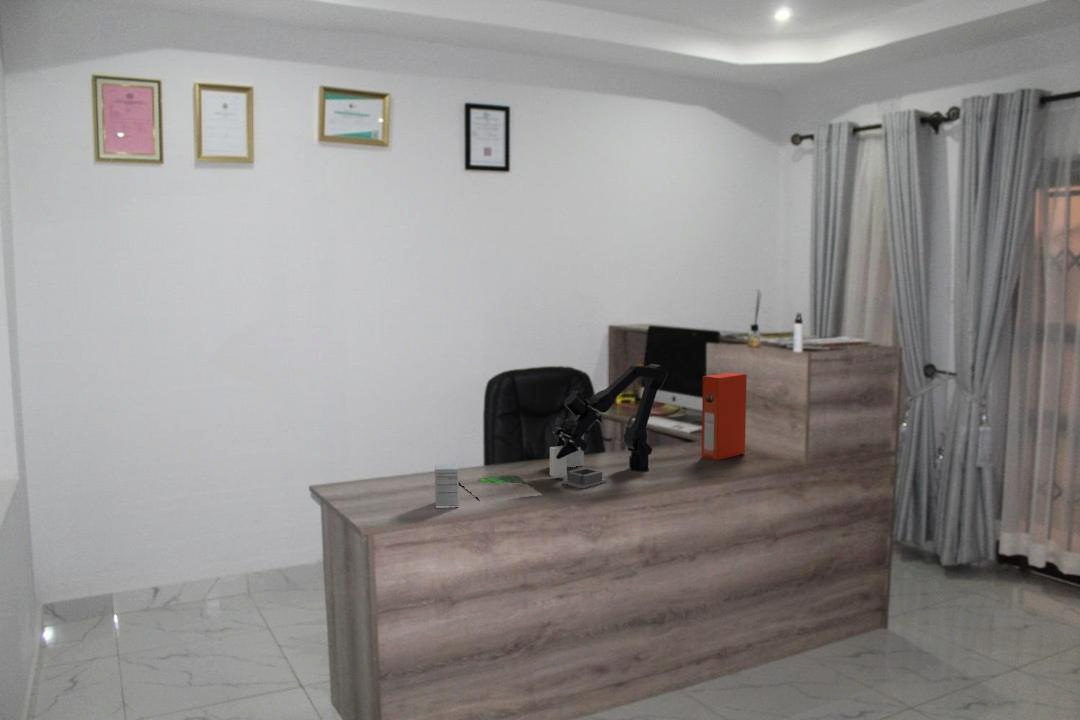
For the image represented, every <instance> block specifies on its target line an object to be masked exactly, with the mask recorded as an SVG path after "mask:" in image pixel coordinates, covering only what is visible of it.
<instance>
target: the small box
mask: <svg viewBox="0 0 1080 720" xmlns="http://www.w3.org/2000/svg"><path fill="white" fill-rule="evenodd" d="M584 436H585V435H584ZM584 436H583V437H582V439H583V440H584V441H585V439H584ZM580 449H581V448H580V447H579V448H578V450H579V451H576V452H573V453H571V454H569V455H567V468H570V467H571V468H572V467H573V468H577V467H576V466H578V467H581V465H582V466H584V465H585V463H584V461H585V460H584V458H585V454H584V453H585V452H584V451H582V450H580ZM571 468H570V469H571Z"/></svg>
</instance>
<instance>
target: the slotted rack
mask: <svg viewBox="0 0 1080 720" xmlns="http://www.w3.org/2000/svg"><path fill="white" fill-rule="evenodd" d="M605 482H606V483H607V479H606V478H605V479H604V478H603V471H601V470H600V469H595V468H590V467H581V468H578V469H573V470H570V471H569V470H567V479H565V480H563V482H562V483H564V484H563V485H566V484H568V485H567V486H570V485H572V486H571V487H574V486H575V487H574V488H577V487H579V488H578V489H581V488H583V489H586V487H587V488H590V487H589V486H591V487H594V486H593V485H595V486H598V485H601V484H600V483H602V484H605ZM597 484H598V485H597Z"/></svg>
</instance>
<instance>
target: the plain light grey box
mask: <svg viewBox="0 0 1080 720" xmlns="http://www.w3.org/2000/svg"><path fill="white" fill-rule="evenodd" d="M562 447H563V446H556V447H555V446H550V447H549V476H551V477H552V478H557V477H559V478H560V477H565V476H567V472H568V467H567V455H566V456H564V457H562V458H560V459H557V458H556V456H557V455H558V453H559V452H560V450H561V449H562Z"/></svg>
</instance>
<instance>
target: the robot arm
mask: <svg viewBox="0 0 1080 720" xmlns="http://www.w3.org/2000/svg"><path fill="white" fill-rule="evenodd" d="M667 376H668V371H667V369H666V367H665V366H663V365H659V364H654V363H650V364H648V365H637V364H631V365H630V366H629V367H628V368H627V370H625V371H624V372H623V373H622V374H621V375H620V376H619V377H618V378H616V379H615V380H614V382H612V383H611V384H610V385H609V386H607V387H606V388H605V389H602V390H599V391H598V392H596V393H594V394H592V395H591V396H590V398H584V397H583V395H582V394H581V393H580V391H577V390H576V391H574V393H571V394H570V395H569V396H567V397H566V398H565V399H564V401H563V405H564V406H565V407H566V408H567V409H568V411H570V413H571V414H572V415H574V416H577V418H576V419H571V418H566V419H564V418H561V417H559V416H557V417H556V420H555V422H554V429H552V431H551V432H552V433H553V434H554V436H555V437H556V443H555V445H554V447H556V446H563V447H562V449H561V450H560V452H559V453H558V455H557V456H556V458H557V459H560V458H562V457H564V456H566V455H569V454H571V453H573V452H576V451H579V450H578V448H579V447H580V448H581V449H580V450H582V451H584V453H585V452H586V451H587V450H588V449H589V443H588V442H587V441H586V440H585V439H584V440H583V439H582V437H583V436H585V435H589V433H590V431H589V429H590V428H591V427H592V426H593V425H594V424H595V423H596V422H598V423H603V418H602V417H603V416H602V414H599V413H606V412H608V411H610V409H611V408H612V406H613V405H614V404H615V401H616V399H617V398H618V396H619V395H621V394H622V393H623V392H624V391H625V390H626V389H627V388H628V387H629V386H630V385H632V384H633V383H634V382H635V381H636V380H637V379H638V378H640V377H643V383H644V386H643V391H642V395H641V397H640V400H639V404H638V408H637V410H636V414H635V418H634V420H633V422H632V423H633V424H632V425H631V426H626V428H625V432H624V435H622V437H623V438H624V439H623V443H624V445H625V446H626V447H627V450H628V451H629V452H630V455H629V456H628V467H629V469H630V471H635V472H637V471H640V472H641V471H645V472H647V471H650V468H649V455H651V454H652V452H653V448H652V447H651V446H650V444H648V443H647V441H648V431H647V427H648V423H649V420H650V416H651V413H652V410H653V406H654V402H655V399H656V396H657V392H658V391H659V389H660V388H661V387H662V386H663V385H664V383H665V381H666V379H667ZM590 408H591V409H590ZM597 412H599V413H597Z"/></svg>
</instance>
